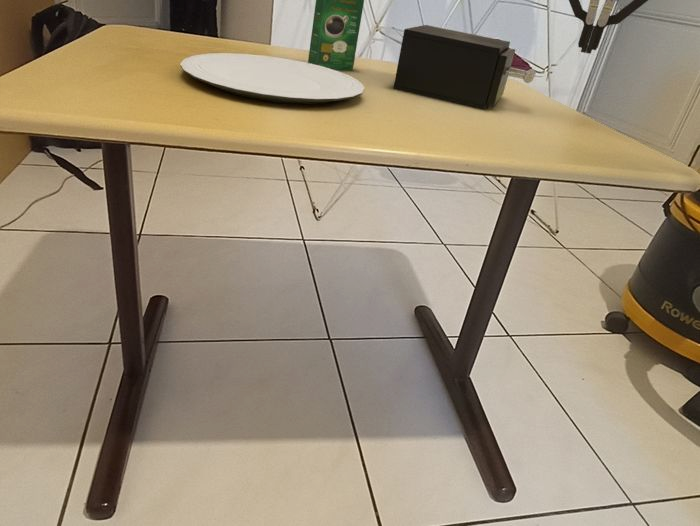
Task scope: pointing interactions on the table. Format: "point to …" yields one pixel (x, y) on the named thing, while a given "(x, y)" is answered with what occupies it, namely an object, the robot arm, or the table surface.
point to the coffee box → (335, 33)
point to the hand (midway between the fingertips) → (585, 52)
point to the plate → (272, 78)
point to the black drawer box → (448, 65)
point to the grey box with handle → (506, 76)
